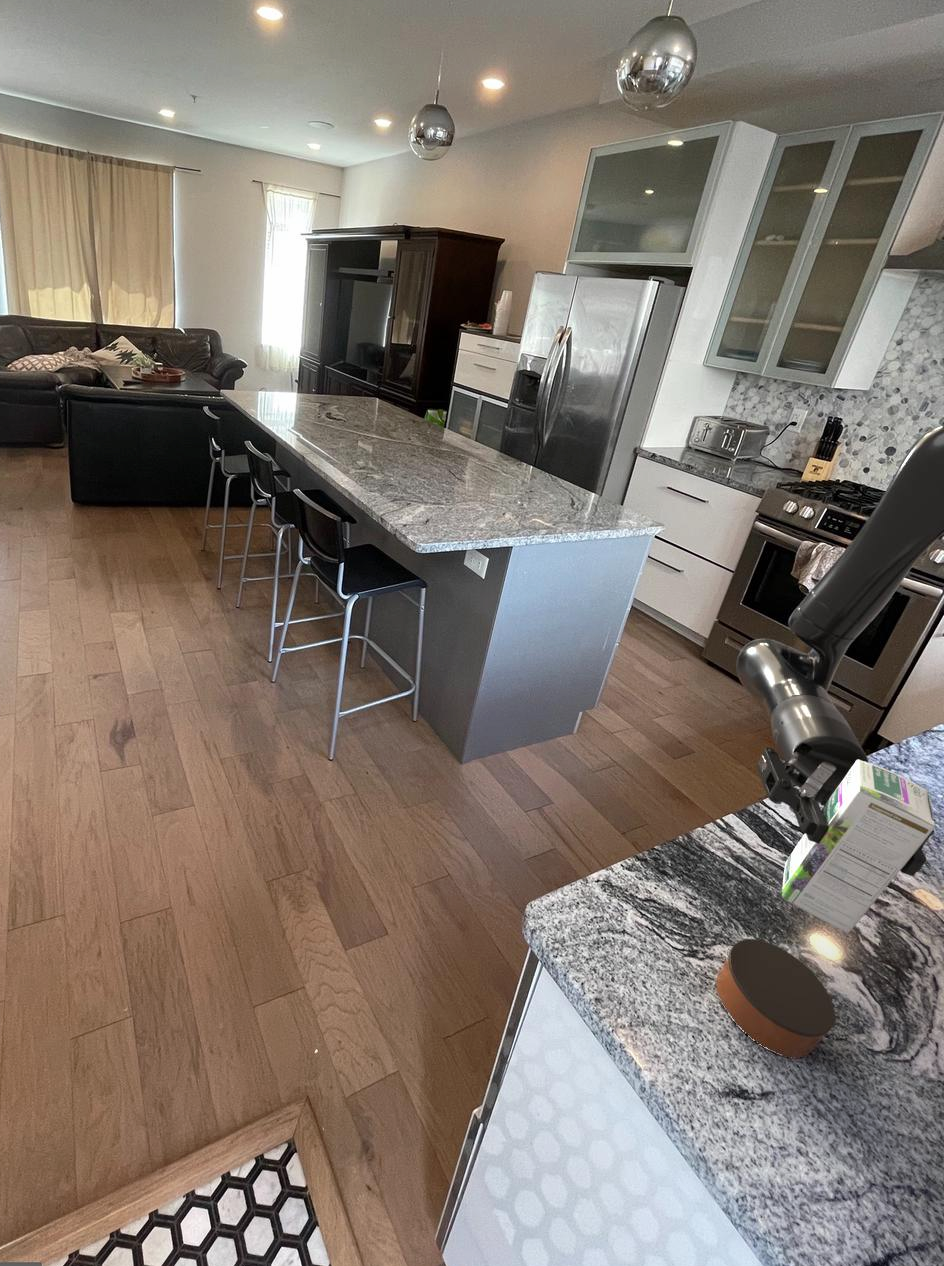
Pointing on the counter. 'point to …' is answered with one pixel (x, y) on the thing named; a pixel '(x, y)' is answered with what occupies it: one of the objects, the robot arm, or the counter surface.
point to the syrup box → (858, 845)
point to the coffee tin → (775, 998)
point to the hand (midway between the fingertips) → (865, 851)
